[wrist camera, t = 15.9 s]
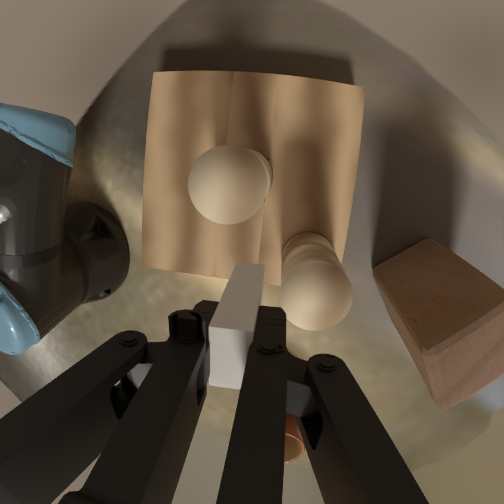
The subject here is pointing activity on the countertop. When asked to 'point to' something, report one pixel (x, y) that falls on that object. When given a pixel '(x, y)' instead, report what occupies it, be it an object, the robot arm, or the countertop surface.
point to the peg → (229, 183)
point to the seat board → (280, 194)
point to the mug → (292, 439)
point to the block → (445, 319)
